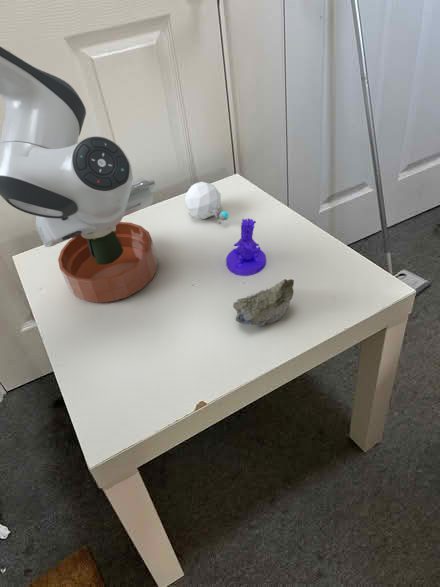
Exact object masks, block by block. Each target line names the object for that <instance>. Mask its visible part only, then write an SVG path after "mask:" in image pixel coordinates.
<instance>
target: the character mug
mask: <svg viewBox="0 0 440 587" xmlns="http://www.w3.org/2000/svg"><path fill="white" fill-rule="evenodd" d="M114 231H116V226H115V227H113V228H111V229H109V230H106V231H96V232H92V233H86V234H81V236H82V237H83V238H86V239H87V241H88V246H89V250H90V254H91V257H92V260H93V262H94V259H93V256H94V257H95V259H96V261H97V264H101V265H106V264H109V263H113V262H114V261H115V260H116V259H118V258H119V257H120V256H121V255H122V253H123V248H122V246H121V244H120V242H119V240H118V238H117V236H116V234H115V232H114ZM92 255H93V256H92Z"/></svg>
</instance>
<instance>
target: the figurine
mask: <svg viewBox="0 0 440 587" xmlns="http://www.w3.org/2000/svg"><path fill="white" fill-rule="evenodd" d="M256 223H257V222H256V220H254V219H252V218H249V217H248V218H245V219H244V218H242V219H241V223H240V239H239V240H238V241H237V242H236V243H234V244H233V246H234V247H235V248H233V249H231V251H230V252H229V253H228V254H227V255H226V257H225V263H226V267H227V269H228V271H229V272H230V273H232V274H234V275H238V276H243V277H244V276H251V275H252V276H253V275H255V274H258V273H260V272H261V271H262V270H263V269H264V268H265V266H266V265H267V258H266V254H265V252H264V251H263V250H262V249H261V247H260V244H259V243H258V242H256V241H255V239H253V235H254V229H255V224H256Z"/></svg>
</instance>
